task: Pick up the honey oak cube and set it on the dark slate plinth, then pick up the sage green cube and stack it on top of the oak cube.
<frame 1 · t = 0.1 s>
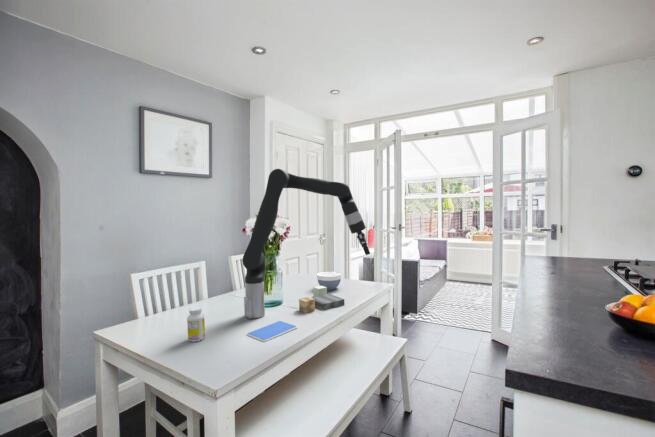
hand: (367, 252, 156), 31 cm above the table, tool tilted 20°, fingers open, 8 cm apart
tablet computer: (272, 332, 142), on the table
bowl: (329, 288, 213), on the table
supplement bottle: (196, 339, 135), on the table
slate base: (326, 304, 179), on the table
oak block: (307, 310, 169), on the table
sage block: (320, 297, 193), on the table
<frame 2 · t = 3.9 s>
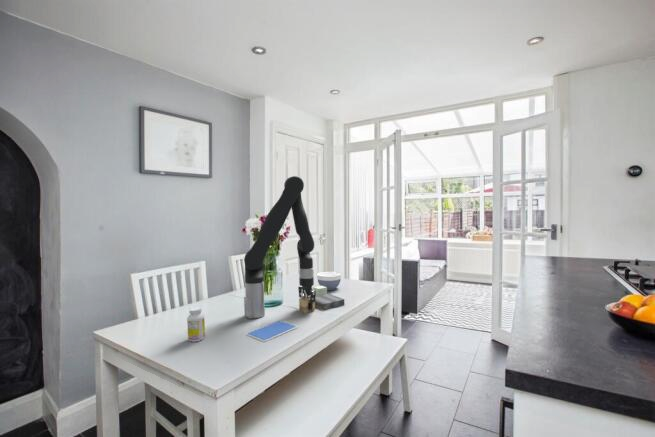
hand: (307, 307, 169), 1 cm above the table, tool pointing down, fingers closed on oak block, 6 cm apart
oak block: (307, 310, 169), on the table, touching gripper
everything else where it was.
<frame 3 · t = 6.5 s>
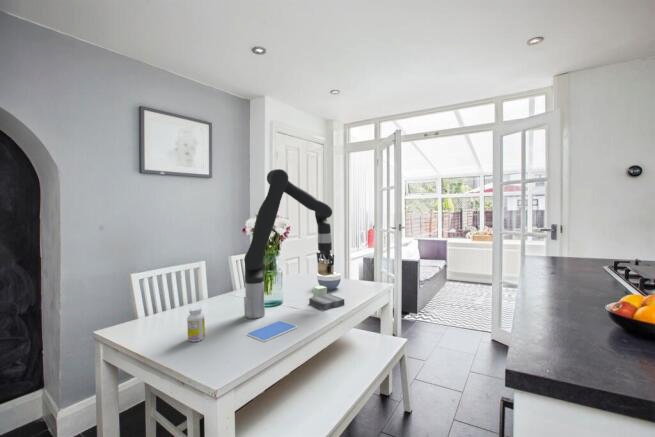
hand: (325, 271, 178), 18 cm above the table, tool pointing down, fingers closed on oak block, 6 cm apart
oak block: (325, 274, 178), point 17 cm above the table, touching gripper
everything else where it was.
when the fingers open (6 cm above the table, at t = 9.5 s): oak block drops 1 cm, resting on slate base.
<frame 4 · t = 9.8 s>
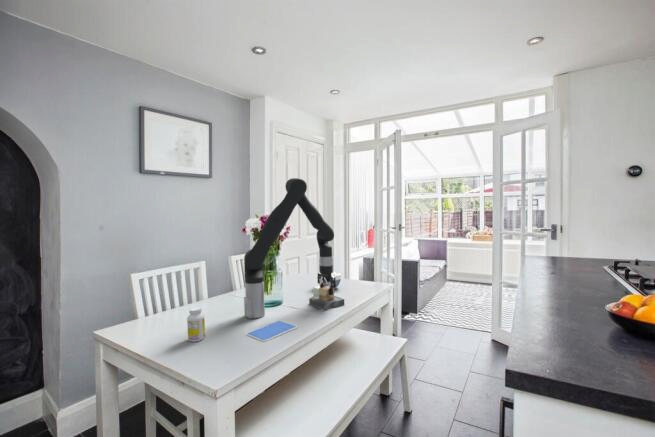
hand: (326, 293, 179), 6 cm above the table, tool pointing down, fingers open, 8 cm apart
oak block: (326, 298, 179), point 3 cm above the table, touching slate base
everything else where it was.
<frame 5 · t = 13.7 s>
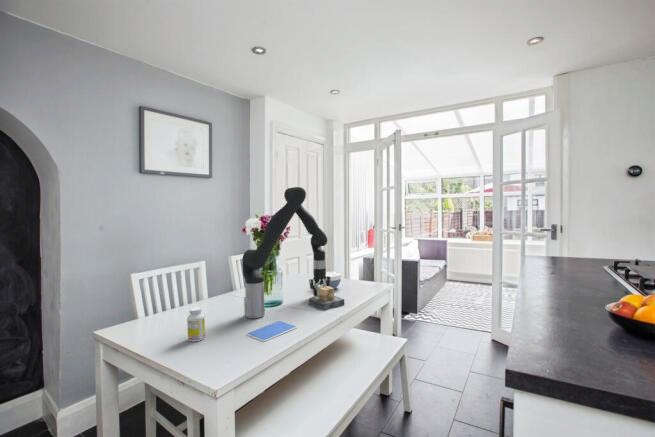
hand: (320, 294, 193), 1 cm above the table, tool pointing down, fingers closed on sage block, 6 cm apart
sage block: (320, 296, 194), on the table, touching gripper
everything else where it was.
when the fingers open (12 cm above the table, at t = 19.3 s): sage block drops 1 cm, resting on oak block.
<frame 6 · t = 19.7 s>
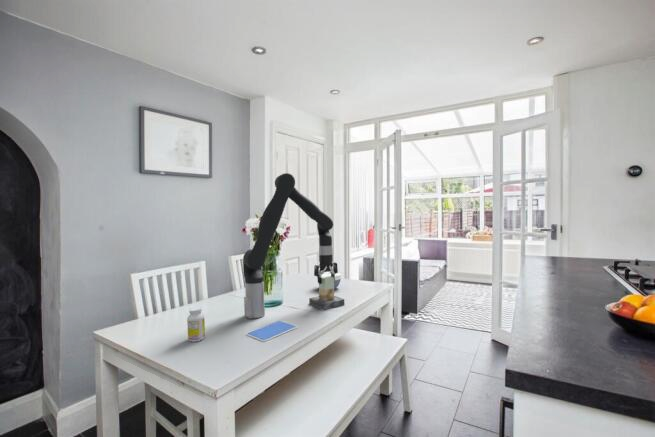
hand: (326, 282, 179), 12 cm above the table, tool pointing down, fingers open, 8 cm apart
oak block: (326, 298, 179), point 3 cm above the table, touching sage block, slate base
sage block: (326, 288, 179), point 9 cm above the table, touching oak block
everything else where it was.
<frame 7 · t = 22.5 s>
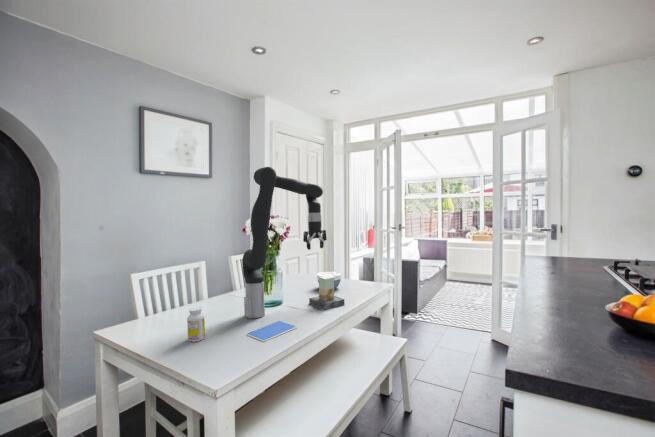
hand: (315, 248, 185), 30 cm above the table, tool pointing down, fingers open, 8 cm apart
nothing on the table moved.
at the end: oak block inside the target area on the slate base (0.0 cm from its centre), point 3.0 cm above the slate base's base; sage block 0.1 cm off-centre on the oak block, point 6.0 cm above the oak block's base; sage block tilted 0° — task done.
